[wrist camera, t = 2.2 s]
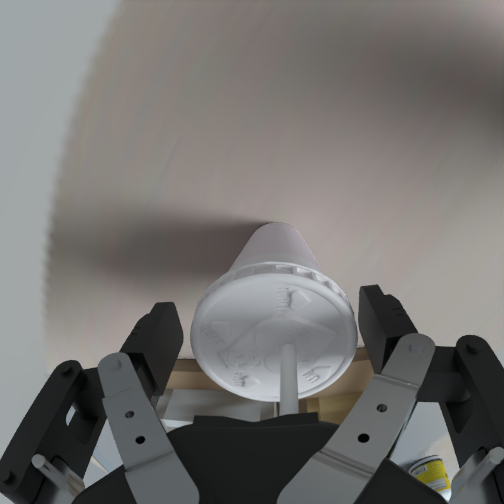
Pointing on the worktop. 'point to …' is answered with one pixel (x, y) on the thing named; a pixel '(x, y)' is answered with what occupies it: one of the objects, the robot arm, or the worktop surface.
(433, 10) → the worktop surface
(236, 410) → the fitting board
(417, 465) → the supplement bottle
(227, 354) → the smoothie
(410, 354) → the robot arm
